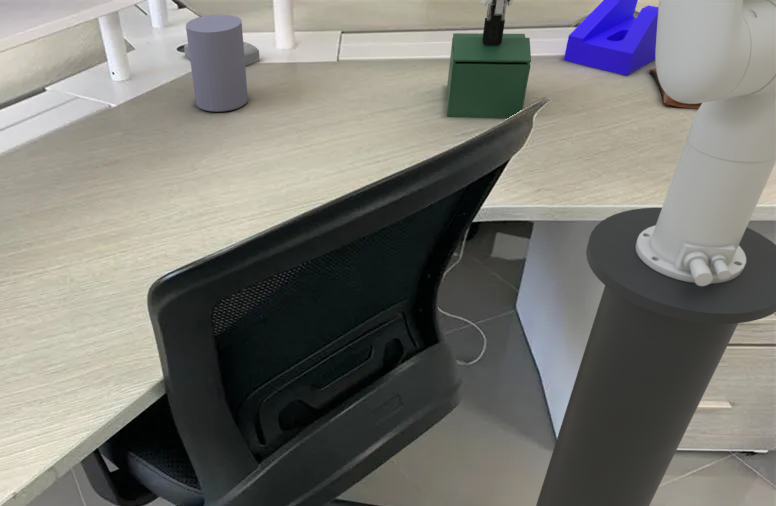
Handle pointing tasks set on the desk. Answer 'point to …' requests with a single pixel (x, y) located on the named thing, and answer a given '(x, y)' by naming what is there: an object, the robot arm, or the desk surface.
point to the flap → (491, 50)
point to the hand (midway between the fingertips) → (491, 42)
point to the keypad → (249, 53)
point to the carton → (486, 86)
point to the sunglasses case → (669, 100)
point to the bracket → (615, 37)
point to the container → (217, 62)
